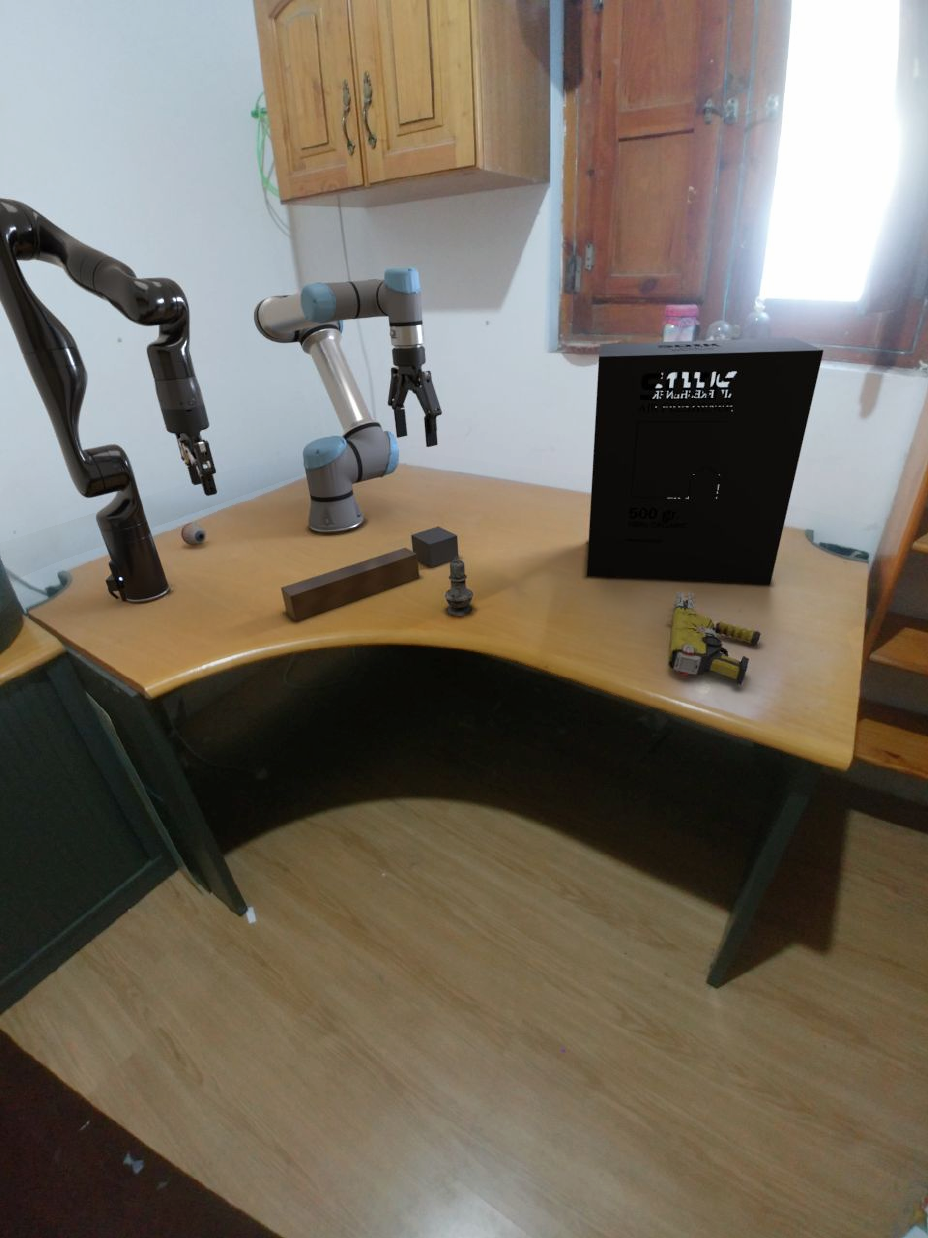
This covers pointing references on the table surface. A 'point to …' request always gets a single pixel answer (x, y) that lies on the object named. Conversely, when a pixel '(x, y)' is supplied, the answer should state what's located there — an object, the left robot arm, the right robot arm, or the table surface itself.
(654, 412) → the cardboard box
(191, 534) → the eyeball
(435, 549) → the cap block
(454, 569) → the salt shaker
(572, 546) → the table surface
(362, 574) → the dark wooden beam
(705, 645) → the toy gun
